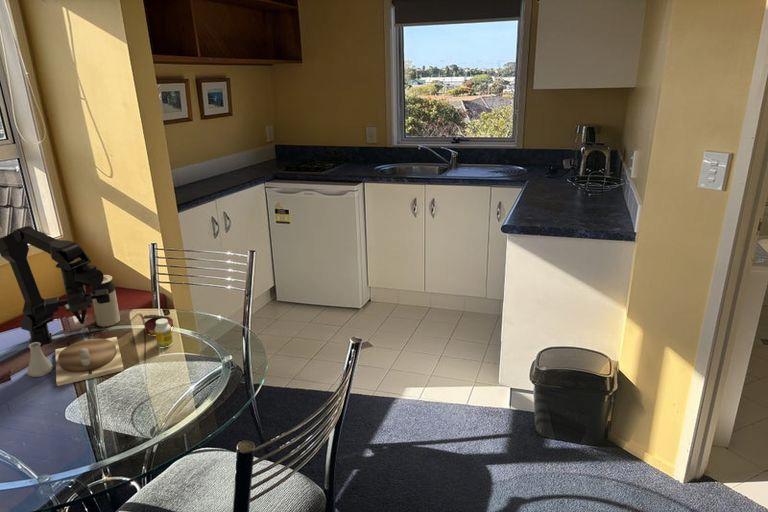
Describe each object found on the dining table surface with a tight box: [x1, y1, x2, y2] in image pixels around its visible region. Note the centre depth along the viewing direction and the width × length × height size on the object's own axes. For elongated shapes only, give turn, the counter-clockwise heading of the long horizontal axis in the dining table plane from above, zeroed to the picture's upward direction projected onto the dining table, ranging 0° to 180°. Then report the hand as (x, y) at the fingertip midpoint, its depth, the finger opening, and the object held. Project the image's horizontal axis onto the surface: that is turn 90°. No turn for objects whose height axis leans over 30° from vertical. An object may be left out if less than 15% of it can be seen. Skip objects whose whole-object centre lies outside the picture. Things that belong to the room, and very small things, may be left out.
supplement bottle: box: [155, 318, 174, 348], centre depth 194 cm, size 5×5×10 cm
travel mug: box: [90, 274, 121, 328], centre depth 205 cm, size 8×8×18 cm
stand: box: [55, 336, 125, 387], centre depth 184 cm, size 21×19×2 cm
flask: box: [26, 342, 55, 378], centre depth 177 cm, size 7×7×10 cm
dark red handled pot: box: [142, 314, 174, 335], centre depth 204 cm, size 11×10×10 cm
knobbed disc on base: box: [58, 338, 116, 372], centre depth 182 cm, size 17×17×7 cm
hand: (82, 323), depth 184 cm, fingers closed
